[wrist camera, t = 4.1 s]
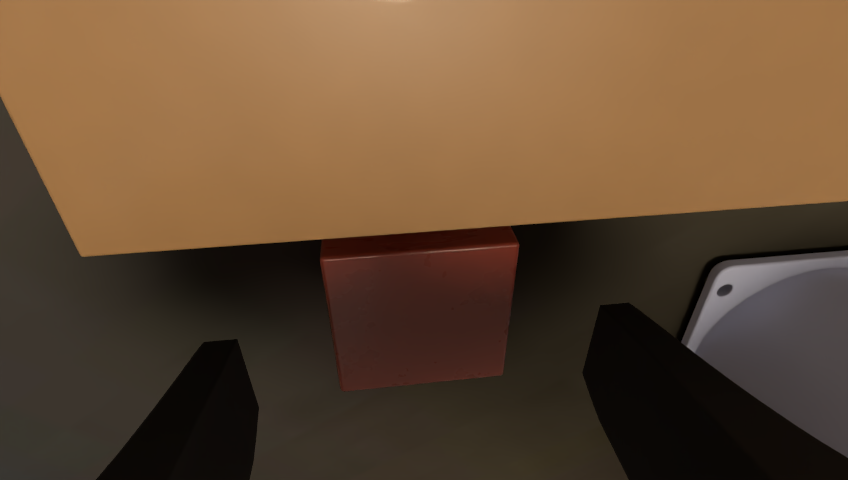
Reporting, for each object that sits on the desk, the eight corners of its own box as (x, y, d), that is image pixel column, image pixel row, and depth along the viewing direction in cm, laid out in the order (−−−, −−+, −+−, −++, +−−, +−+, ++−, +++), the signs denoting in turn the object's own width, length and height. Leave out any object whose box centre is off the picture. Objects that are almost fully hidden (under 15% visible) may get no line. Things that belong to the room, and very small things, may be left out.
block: (471, 276, 15) (503, 376, 12) (343, 286, 15) (340, 393, 12) (478, 159, 13) (521, 243, 10) (327, 168, 13) (318, 259, 9)
